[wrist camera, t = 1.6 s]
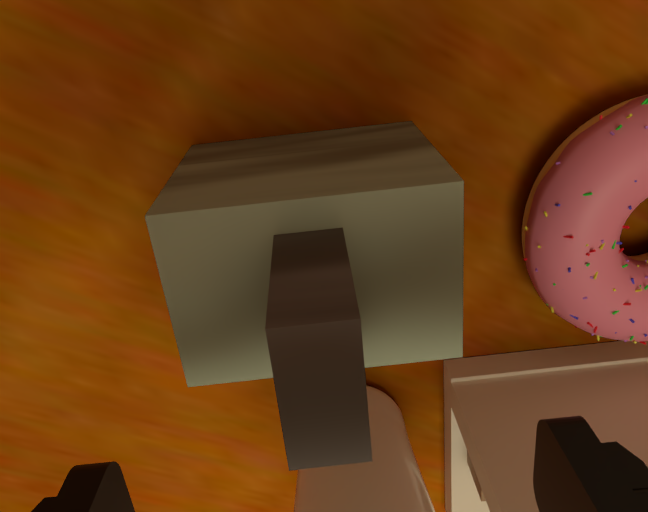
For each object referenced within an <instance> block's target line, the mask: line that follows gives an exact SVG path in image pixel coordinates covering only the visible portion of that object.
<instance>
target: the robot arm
mask: <svg viewBox="0 0 648 512" xmlns="http://www.w3.org/2000/svg"><path fill="white" fill-rule="evenodd" d="M533 488H534V494H535V499H536V503H537V506H538V509H539V512H648V467H647V466H646V464H645V463H644V462H643V461H642V460H641V459H639V458H638V457H637V456H635V455H634V454H633V453H631V452H630V451H629V450H627V449H626V448H625V447H623V446H622V445H621V444H619V443H618V442H617V441H615V442H606V443H601V442H600V440H599V439H598V437H597V436H596V434H595V433H594V431H593V430H592V428H591V427H590V425H589V424H588V422H587V421H586V420H585V419H584V418H583V417H582V416H571V417H561V418H551V419H541V420H539V422H538V424H537V430H536V444H535V457H534V470H533ZM31 512H135V510H134V507H133V504H132V501H131V498H130V495H129V492H128V489H127V486H126V483H125V480H124V477H123V474H122V471H121V468H120V466H119V464H118V463H117V462H105V463H95V464H85V465H76V466H74V467H73V468H72V469H71V470H70V471H69V473H68V475H67V477H66V479H65V481H64V483H63V485H62V487H61V489H60V491H59V493H58V495H57V497H47V498H44V499H43V500H42V501H41V502H40V503H39V504H38V505H37V506H36V507H35V508H34V509H33V510H32V511H31Z"/></svg>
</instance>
